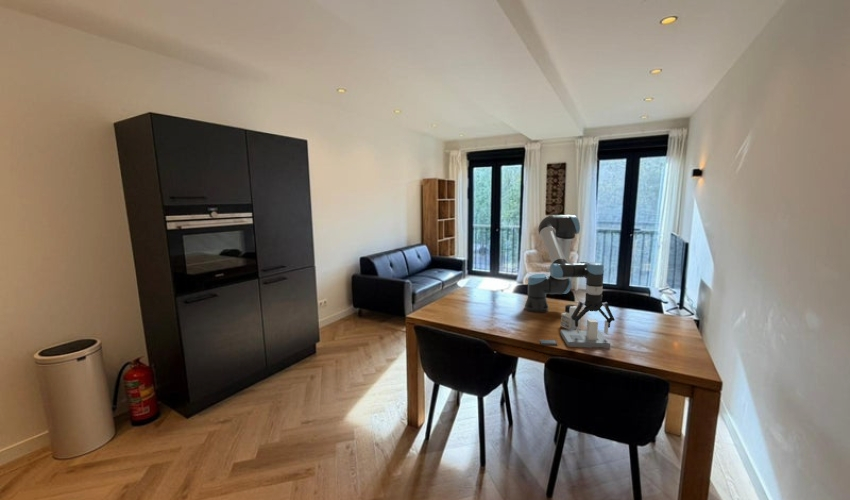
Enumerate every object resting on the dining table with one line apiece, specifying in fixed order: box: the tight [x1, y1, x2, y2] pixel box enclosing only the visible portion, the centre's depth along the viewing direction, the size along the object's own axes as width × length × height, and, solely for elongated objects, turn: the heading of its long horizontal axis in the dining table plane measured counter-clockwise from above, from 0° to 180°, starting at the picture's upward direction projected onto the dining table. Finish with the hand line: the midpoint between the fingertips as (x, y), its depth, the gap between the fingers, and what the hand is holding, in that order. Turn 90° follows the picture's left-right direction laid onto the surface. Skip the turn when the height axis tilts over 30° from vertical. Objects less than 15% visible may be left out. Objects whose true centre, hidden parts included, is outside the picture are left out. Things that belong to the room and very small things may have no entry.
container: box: [560, 304, 582, 330], centre depth 197 cm, size 8×8×13 cm
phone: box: [539, 339, 558, 346], centre depth 178 cm, size 4×8×1 cm, turn 81°
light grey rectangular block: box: [586, 318, 599, 340], centre depth 177 cm, size 4×4×12 cm
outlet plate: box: [560, 329, 611, 349], centre depth 180 cm, size 16×20×3 cm
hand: (591, 333), depth 177 cm, fingers open, 13 cm apart
